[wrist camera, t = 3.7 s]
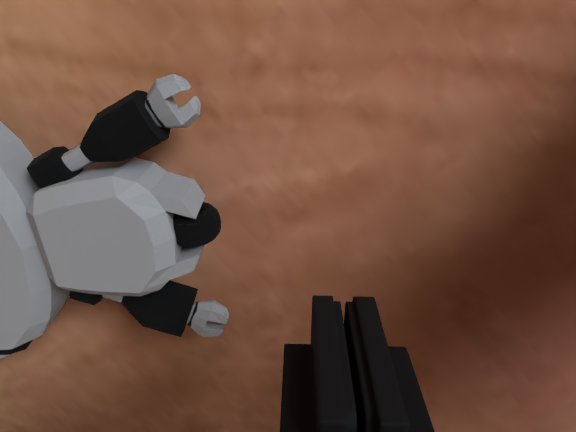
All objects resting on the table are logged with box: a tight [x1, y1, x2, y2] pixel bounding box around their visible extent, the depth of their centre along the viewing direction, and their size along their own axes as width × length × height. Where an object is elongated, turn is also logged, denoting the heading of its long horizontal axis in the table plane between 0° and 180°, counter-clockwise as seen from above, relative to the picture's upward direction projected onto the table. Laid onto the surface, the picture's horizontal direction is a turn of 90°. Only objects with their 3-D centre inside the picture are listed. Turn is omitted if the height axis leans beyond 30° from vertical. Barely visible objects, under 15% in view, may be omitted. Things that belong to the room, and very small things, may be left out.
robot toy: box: [0, 74, 229, 358], centre depth 17 cm, size 12×4×15 cm
